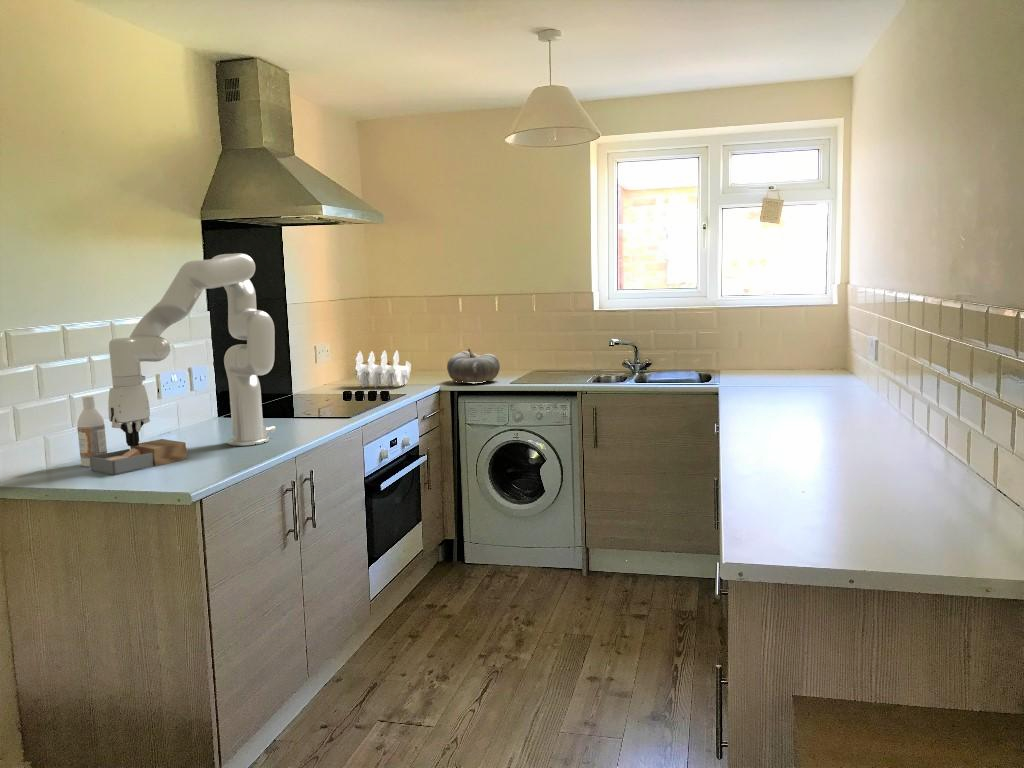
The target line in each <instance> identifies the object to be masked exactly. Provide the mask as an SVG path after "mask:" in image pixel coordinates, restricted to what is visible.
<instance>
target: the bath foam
mask: <svg viewBox="0 0 1024 768" xmlns="http://www.w3.org/2000/svg"><path fill="white" fill-rule="evenodd" d="M82 407H83V410H82V411H81V413H80V415H79V417H78V419H77V425H76V426H77V428H76V429H77V436H78V437H77V438H78V446H79V447H78V449H79V455H80V457H79V458H80V462H81V463H80V464H81V466H82V467H85V468H86V467H90V468H91V465H90V456H95V455H100V454H105V453H108V447H107V437H106V436H107V435H106V424H105V421H104V419H103V416H102V415H101V413H100V412H99V411H98V410H97V409H96V406H95V397H94V395H84V396H82Z"/></svg>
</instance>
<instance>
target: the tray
mask: <svg viewBox="0 0 1024 768" xmlns="http://www.w3.org/2000/svg"><path fill="white" fill-rule="evenodd" d="M129 450H131V448H126V449H122V450H116V451H112V452H111V451H110V452H107V453H105V454H100V455H95V456H90V465H91V467H90V471H92V472H96V473H102V474H105V475H111V476H118V475H122V474H126V473H131V472H136V471H141V470H144V469H149V468H154V467H155V466H154V465H153V454H152V453H147V454H142V455H138V456H133V457H128V458H123V459H118V460H108V459H105V458H110V457H115V456H122V455H123V454H125V453H126V452H128V451H129Z"/></svg>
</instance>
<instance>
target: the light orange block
mask: <svg viewBox="0 0 1024 768" xmlns="http://www.w3.org/2000/svg"><path fill="white" fill-rule="evenodd" d="M123 458H126V457H122V456H115V457H110V458H105V459H108V460H118V459H123Z"/></svg>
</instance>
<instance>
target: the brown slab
mask: <svg viewBox="0 0 1024 768" xmlns="http://www.w3.org/2000/svg"><path fill="white" fill-rule="evenodd" d="M186 446H187V445H186V442H183V441H177V440H172V439H164V438H160V439H154V440H149V441H144V442H139V446H134V447H132V446H129V447H130V448H129V449H130V450H131V449H133V448H134V449H137V450H139V452H140V453H141V455H142V454H147V453H152V454H153V465H154V467H159V466H163V465H167V464H171V463H172V464H173V463H176V462H180V461H184V460H187V459H188V456H187V447H186Z"/></svg>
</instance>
